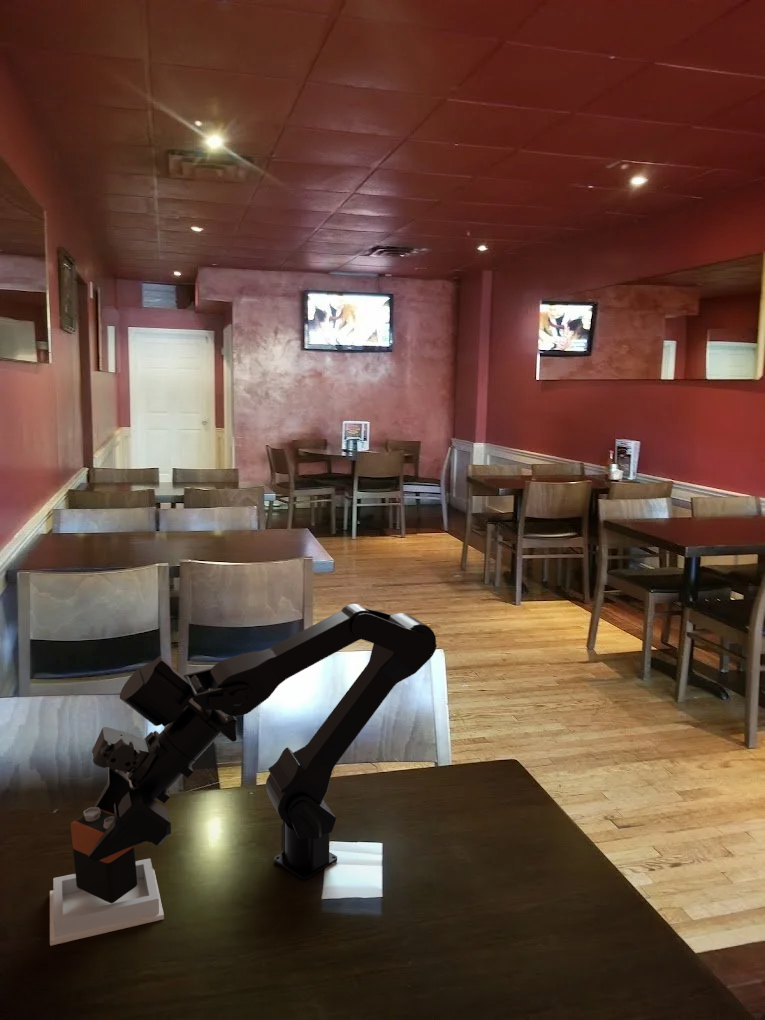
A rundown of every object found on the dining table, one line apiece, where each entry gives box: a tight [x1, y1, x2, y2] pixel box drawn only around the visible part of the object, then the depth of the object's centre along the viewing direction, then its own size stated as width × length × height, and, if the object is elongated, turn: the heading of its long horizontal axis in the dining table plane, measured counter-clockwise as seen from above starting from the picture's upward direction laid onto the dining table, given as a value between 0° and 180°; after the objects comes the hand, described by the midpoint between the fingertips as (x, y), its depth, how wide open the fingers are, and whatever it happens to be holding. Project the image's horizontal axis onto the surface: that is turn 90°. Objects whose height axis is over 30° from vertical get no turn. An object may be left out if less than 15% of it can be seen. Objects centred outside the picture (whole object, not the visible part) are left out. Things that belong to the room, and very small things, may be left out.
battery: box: [70, 806, 137, 903], centre depth 99 cm, size 4×7×10 cm, turn 59°
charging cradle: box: [49, 858, 165, 947], centre depth 100 cm, size 13×10×3 cm
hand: (89, 841), depth 98 cm, fingers closed on battery, 7 cm apart
